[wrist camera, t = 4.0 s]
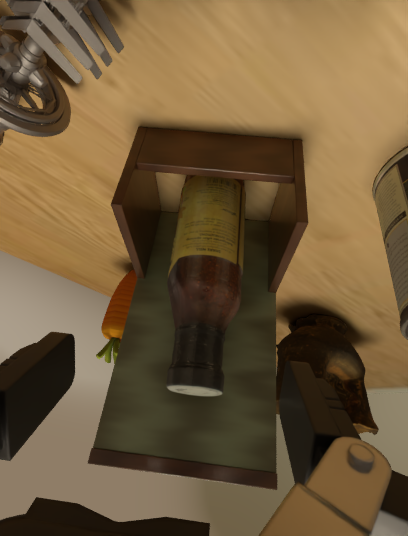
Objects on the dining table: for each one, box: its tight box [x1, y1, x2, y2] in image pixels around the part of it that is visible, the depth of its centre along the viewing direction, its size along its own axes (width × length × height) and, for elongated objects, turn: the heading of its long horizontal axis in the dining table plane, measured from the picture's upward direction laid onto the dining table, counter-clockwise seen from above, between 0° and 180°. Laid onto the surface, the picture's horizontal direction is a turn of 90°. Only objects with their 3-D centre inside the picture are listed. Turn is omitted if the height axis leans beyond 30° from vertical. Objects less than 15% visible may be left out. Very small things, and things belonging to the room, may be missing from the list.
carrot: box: [96, 270, 137, 364], centre depth 45 cm, size 5×5×15 cm
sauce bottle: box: [166, 175, 245, 396], centre depth 26 cm, size 6×6×20 cm
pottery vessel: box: [276, 314, 378, 435], centre depth 54 cm, size 25×11×20 cm, turn 47°
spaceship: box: [0, 0, 124, 145], centre depth 21 cm, size 8×35×8 cm
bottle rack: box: [88, 127, 308, 490], centre depth 25 cm, size 14×12×25 cm
